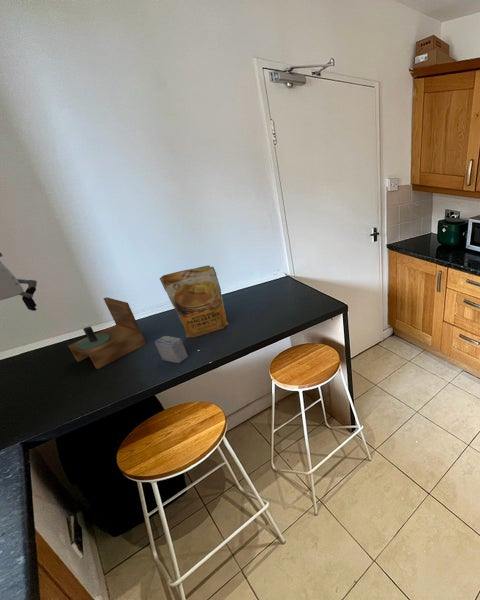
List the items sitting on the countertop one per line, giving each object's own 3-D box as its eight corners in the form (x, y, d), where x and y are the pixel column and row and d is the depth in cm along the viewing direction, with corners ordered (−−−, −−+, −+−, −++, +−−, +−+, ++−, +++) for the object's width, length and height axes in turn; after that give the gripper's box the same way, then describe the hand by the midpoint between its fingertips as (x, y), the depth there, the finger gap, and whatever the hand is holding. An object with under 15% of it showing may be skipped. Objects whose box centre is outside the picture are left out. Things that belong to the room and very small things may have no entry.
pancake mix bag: (181, 334, 133) (157, 273, 121) (229, 320, 144) (212, 263, 131) (183, 341, 129) (159, 279, 116) (233, 326, 139) (216, 267, 127)
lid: (87, 351, 111) (79, 337, 108) (72, 346, 114) (64, 332, 111) (115, 338, 119) (108, 324, 116) (101, 333, 122) (94, 320, 119)
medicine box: (188, 356, 120) (181, 338, 116) (178, 364, 116) (170, 344, 112) (172, 353, 121) (164, 335, 118) (162, 360, 118) (153, 341, 114)
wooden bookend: (97, 369, 113) (72, 324, 105) (76, 361, 118) (50, 317, 109) (146, 343, 127) (127, 302, 119) (126, 337, 132) (106, 297, 123)
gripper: (12, 250, 92) (42, 302, 99) (-86, 270, 77) (-42, 329, 85) (25, 253, 89) (55, 306, 97) (-73, 275, 75) (-28, 335, 83)
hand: (10, 317), depth 91 cm, fingers open, 9 cm apart
